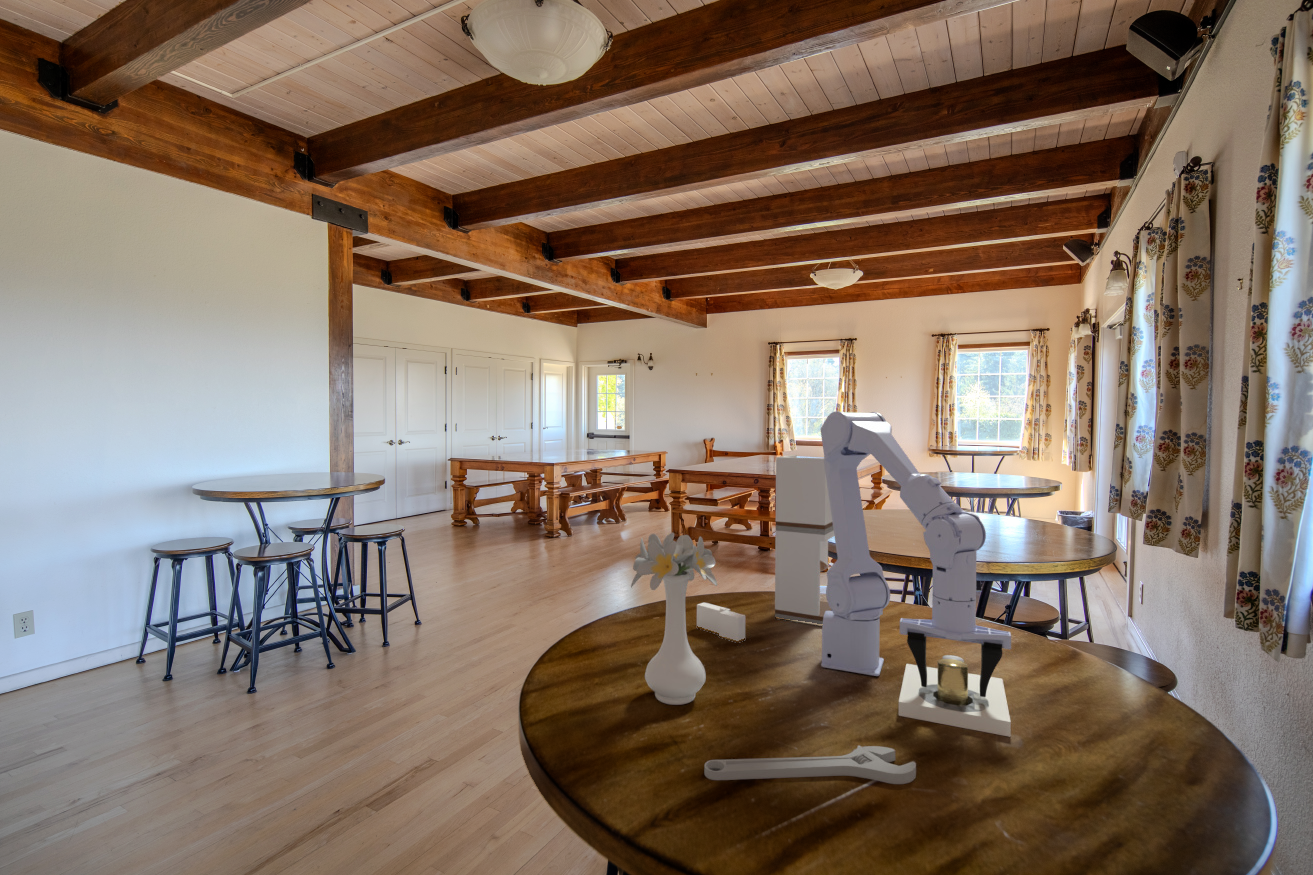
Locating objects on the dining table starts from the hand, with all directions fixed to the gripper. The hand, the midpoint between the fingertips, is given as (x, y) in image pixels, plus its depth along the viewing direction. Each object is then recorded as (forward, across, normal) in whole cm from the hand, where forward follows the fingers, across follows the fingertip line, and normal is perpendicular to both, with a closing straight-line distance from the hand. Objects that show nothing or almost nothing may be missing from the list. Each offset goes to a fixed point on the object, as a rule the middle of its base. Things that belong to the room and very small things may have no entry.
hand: (952, 689), depth 90 cm
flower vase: (+3, -39, -13) cm, 41 cm away
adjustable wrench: (+4, -16, -24) cm, 29 cm away
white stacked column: (+3, -29, +37) cm, 47 cm away
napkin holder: (+4, -42, +17) cm, 45 cm away
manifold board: (+3, 0, +3) cm, 4 cm away
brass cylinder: (+3, 0, 0) cm, 3 cm away
